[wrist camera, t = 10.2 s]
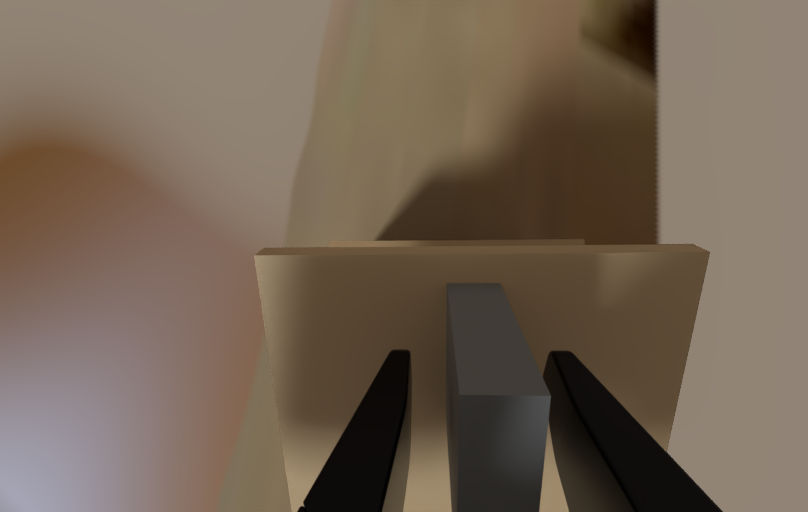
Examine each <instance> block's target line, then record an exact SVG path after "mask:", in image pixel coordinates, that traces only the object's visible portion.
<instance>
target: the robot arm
mask: <svg viewBox="0 0 808 512" xmlns="http://www.w3.org/2000/svg"><path fill="white" fill-rule="evenodd" d="M543 379H544V382H545V384H546V386H547V388H548V390H549V393H550V395H551V400H550V410H549V420H548V421H549V427H550V433H551V439H552V446H553V451H554V457H555V461H556V465H557V470H558V473H559V477H560V481H561V484H562V488H563V491H564V495H565V499H566V502H567V506H568V509H569V512H722V510H721V509H720V508H719V507H718V506H717V505H716V504H715V503H714V502H713V501H712V500H711V499H710V498H709V497H708V496H707V495H706V494H705V492H704V491H703V490H702V489H701V488H700V487H699V486H698V485H697V484H696V483H695V482H694V481H693V480H692V479H691V478H690V477H689V475H688V474H687V473H686V472H685V471H684V470H683V469H682V468H681V467H680V466H679V465H678V464H677V463H676V462H675V461H674V460H673V458H672V457H671V456H670V455H669V454H668V453H667V452H666V451H665V450H664V449H663V448H662V447H661V446H660V445H659V444H658V443H657V441H656V440H655V439H654V438H653V437H652V436H651V435H650V434H649V433H648V432H647V431H646V430H645V429H644V428H643V427H642V426H641V425H640V423H639V422H638V421H637V420H636V419H635V418H634V417H633V416H632V415H631V414H630V413H629V412H628V411H627V410H626V409H625V408H624V406H623V405H622V404H621V403H620V402H619V401H618V400H617V399H616V398H615V397H614V396H613V395H612V394H611V393H610V392H609V391H608V390H607V388H606V387H605V386H604V385H603V384H602V383H601V382H600V381H599V380H598V379H597V378H596V377H595V376H594V375H593V374H592V373H591V371H590V370H589V369H588V368H587V367H586V366H585V365H584V364H583V363H582V362H581V361H580V360H579V359H578V358H577V357H576V356H575V355H574V354H573V353H572V352H570V351H567V350H553V351H550V352H549V354H548V357H547V361H546V365H545V369H544V373H543ZM411 411H412V367H411V352H410V351H409V350H407V349H393V350H391V351H390V352H389V354H388V355H387V357H386V359H385V361H384V362H383V364H382V366H381V368H380V369H379V371H378V373H377V374H376V376H375V378H374V380H373V381H372V383H371V385H370V387H369V388H368V390H367V392H366V394H365V395H364V397H363V399H362V400H361V402H360V404H359V406H358V407H357V409H356V411H355V413H354V414H353V416H352V418H351V420H350V421H349V423H348V425H347V426H346V428H345V430H344V432H343V433H342V435H341V437H340V439H339V440H338V442H337V444H336V446H335V447H334V449H333V451H332V452H331V454H330V456H329V458H328V459H327V461H326V463H325V465H324V466H323V468H322V470H321V472H320V473H319V475H318V477H317V478H316V480H315V482H314V484H313V485H312V487H311V489H310V491H309V492H308V494H307V496H306V498H305V499H304V501H303V505H304V506H300V508H299V509H298V511H297V512H403V509H404V502H405V494H406V487H407V479H408V472H409V464H410V453H411Z"/></svg>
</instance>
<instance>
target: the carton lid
mask: <svg viewBox="0 0 808 512" xmlns="http://www.w3.org/2000/svg"><path fill="white" fill-rule="evenodd" d="M709 254H710V252H709V251H707V250H704V249H702V248H700V247H698V246H696V245H693V244H648V245H535V246H422V247H308V248H264V249H262V250H261V251H259V252H258V253H257V254H256V255H254V258H255V265H256V271H257V278H258V285H259V291H260V299H261V305H262V312H263V319H264V326H265V333H266V339H267V346H268V353H269V360H270V367H271V373H272V380H273V387H274V394H275V400H276V407H277V414H278V421H279V428H280V434H281V441H282V448H283V455H284V461H285V468H286V475H287V482H288V489H289V495H290V502H291V509H292V512H297V511H298V509H299V508H300V506H304V505H303V501H304V499H305V498H306V496H307V494H308V492H309V491H310V489H311V487H312V485H313V484H314V482H315V480H316V478H317V477H318V475H319V473H320V472H321V470H322V468H323V466H324V465H325V463H326V461H327V459H328V458H329V456H330V454H331V452H332V451H333V449H334V447H335V446H336V444H337V442H338V440H339V439H340V437H341V435H342V433H343V432H344V430H345V428H346V426H347V425H348V423H349V421H350V420H351V418H352V416H353V414H354V413H355V411H356V409H357V407H358V406H359V404H360V402H361V400H362V399H363V397H364V395H365V394H366V392H367V390H368V388H369V387H370V385H371V383H372V381H373V380H374V378H375V376H376V374H377V373H378V371H379V369H380V368H381V366H382V364H383V362H384V361H385V359H386V357H387V355H388V354H389V352H390V351H391V350H393V349H407V350H409V351H410V352H411V367H412V411H411V453H410V464H409V472H408V479H407V487H406V494H405V502H404V509H403V512H569V509H568V506H567V502H566V499H565V495H564V491H563V488H562V484H561V481H560V477H559V473H558V470H557V465H556V461H555V457H554V451H553V446H552V439H551V433H550V427H549V421H548V420H549V410H550V400H551V395H550V393H549V390H548V388H547V386H546V384H545V382H544V379H543V373H544V369H545V365H546V361H547V357H548V354H549V352H550V351H553V350H567V351H570V352H572V353H573V354H574V355H575V356H576V357H577V358H578V359H579V360H580V361H581V362H582V363H583V364H584V365H585V366H586V367H587V368H588V369H589V370H590V371H591V373H592V374H593V375H594V376H595V377H596V378H597V379H598V380H599V381H600V382H601V383H602V384H603V385H604V386H605V387H606V388H607V390H608V391H609V392H610V393H611V394H612V395H613V396H614V397H615V398H616V399H617V400H618V401H619V402H620V403H621V404H622V405H623V406H624V408H625V409H626V410H627V411H628V412H629V413H630V414H631V415H632V416H633V417H634V418H635V419H636V420H637V421H638V422H639V423H640V425H641V426H642V427H643V428H644V429H645V430H646V431H647V432H648V433H649V434H650V435H651V436H652V437H653V438H654V439H655V440H656V441H657V443H658V444H659V445H660V446H661V447H662V448H663V449H664V450H665V451H666V452H667V448H668V443H669V439H670V434H671V430H672V425H673V420H674V416H675V411H676V406H677V402H678V397H679V393H680V388H681V383H682V378H683V374H684V370H685V365H686V360H687V356H688V351H689V347H690V342H691V337H692V333H693V328H694V323H695V319H696V314H697V310H698V305H699V300H700V296H701V291H702V287H703V282H704V277H705V272H706V268H707V263H708V258H709Z"/></svg>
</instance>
